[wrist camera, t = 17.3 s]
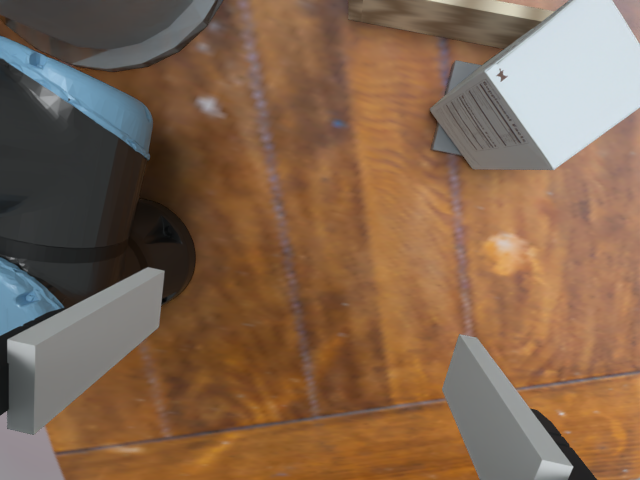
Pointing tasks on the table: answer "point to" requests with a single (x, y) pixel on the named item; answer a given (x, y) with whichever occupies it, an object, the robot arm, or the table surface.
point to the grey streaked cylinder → (108, 29)
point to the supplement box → (547, 91)
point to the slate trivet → (456, 77)
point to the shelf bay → (452, 18)
